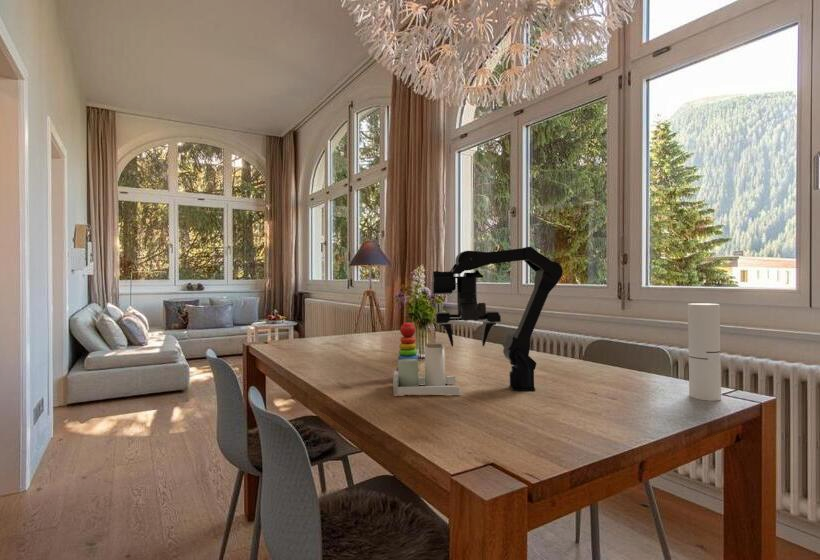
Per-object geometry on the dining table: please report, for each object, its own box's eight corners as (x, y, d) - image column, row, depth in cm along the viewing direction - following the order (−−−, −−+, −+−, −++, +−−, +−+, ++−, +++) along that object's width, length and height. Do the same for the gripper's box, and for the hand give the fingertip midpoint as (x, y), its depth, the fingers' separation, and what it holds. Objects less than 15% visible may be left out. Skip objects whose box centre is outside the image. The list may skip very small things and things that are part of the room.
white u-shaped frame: (455, 383, 141) (454, 369, 141) (460, 396, 125) (460, 380, 125) (394, 384, 140) (394, 370, 140) (393, 397, 125) (393, 381, 125)
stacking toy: (420, 381, 144) (418, 323, 144) (395, 381, 144) (394, 324, 144) (420, 376, 152) (419, 321, 152) (396, 376, 152) (395, 321, 152)
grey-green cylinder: (419, 388, 136) (419, 358, 135) (417, 393, 130) (417, 362, 130) (400, 387, 136) (399, 358, 136) (397, 393, 130) (396, 362, 130)
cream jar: (448, 388, 134) (447, 342, 134) (439, 393, 129) (438, 345, 129) (431, 386, 137) (430, 341, 137) (421, 391, 132) (420, 344, 132)
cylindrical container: (726, 401, 116) (724, 304, 115) (695, 400, 117) (694, 305, 117) (713, 394, 123) (712, 303, 122) (684, 393, 124) (683, 303, 124)
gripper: (437, 295, 124) (438, 351, 124) (504, 293, 124) (505, 350, 124) (434, 293, 135) (435, 345, 135) (496, 292, 135) (497, 344, 135)
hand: (467, 346), depth 132 cm, fingers open, 9 cm apart
